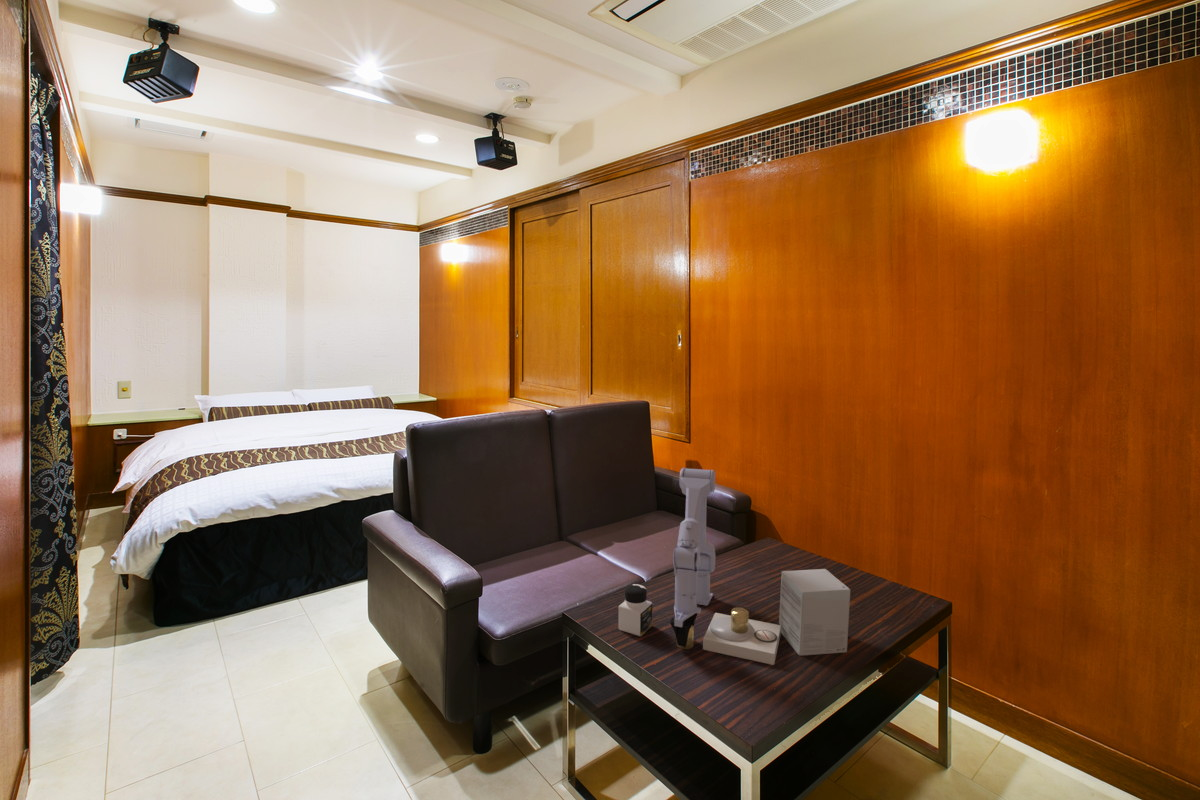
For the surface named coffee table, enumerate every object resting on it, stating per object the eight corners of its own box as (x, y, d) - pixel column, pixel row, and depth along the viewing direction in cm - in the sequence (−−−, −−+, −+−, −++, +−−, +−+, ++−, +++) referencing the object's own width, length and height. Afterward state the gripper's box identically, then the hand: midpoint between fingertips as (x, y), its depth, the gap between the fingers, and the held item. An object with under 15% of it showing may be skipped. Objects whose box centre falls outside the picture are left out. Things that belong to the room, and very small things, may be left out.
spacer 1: (674, 647, 154) (674, 629, 154) (678, 638, 159) (679, 621, 158) (690, 650, 153) (691, 632, 152) (695, 642, 157) (695, 624, 156)
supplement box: (822, 626, 165) (825, 567, 162) (847, 653, 152) (851, 589, 149) (777, 629, 163) (780, 570, 161) (799, 656, 150) (802, 592, 148)
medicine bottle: (640, 637, 159) (641, 595, 158) (618, 629, 163) (618, 589, 161) (652, 625, 165) (653, 585, 164) (630, 618, 169) (630, 579, 167)
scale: (702, 649, 153) (703, 636, 153) (714, 622, 167) (715, 610, 166) (774, 665, 146) (774, 651, 146) (780, 635, 160) (780, 623, 160)
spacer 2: (729, 631, 155) (729, 613, 155) (732, 623, 160) (733, 606, 159) (746, 635, 154) (746, 617, 153) (749, 627, 158) (750, 609, 157)
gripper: (694, 606, 145) (693, 657, 147) (707, 582, 159) (705, 629, 161) (666, 601, 148) (666, 650, 150) (681, 578, 161) (680, 624, 163)
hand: (684, 639), depth 155 cm, fingers open, 6 cm apart
